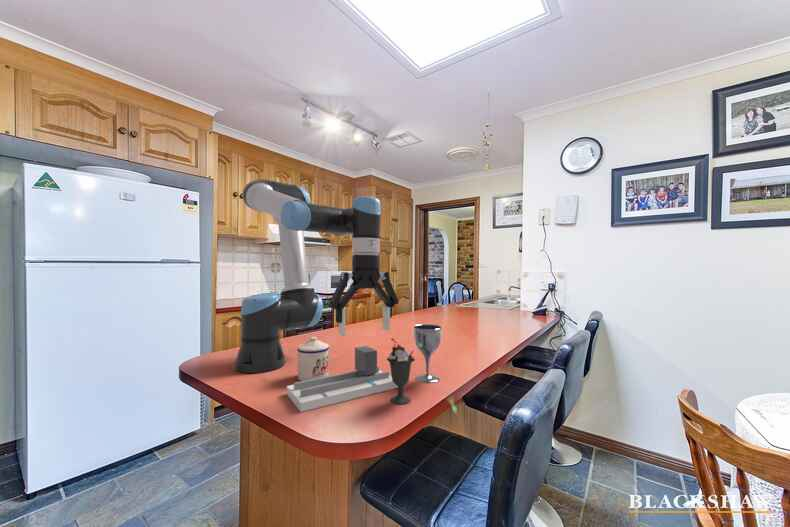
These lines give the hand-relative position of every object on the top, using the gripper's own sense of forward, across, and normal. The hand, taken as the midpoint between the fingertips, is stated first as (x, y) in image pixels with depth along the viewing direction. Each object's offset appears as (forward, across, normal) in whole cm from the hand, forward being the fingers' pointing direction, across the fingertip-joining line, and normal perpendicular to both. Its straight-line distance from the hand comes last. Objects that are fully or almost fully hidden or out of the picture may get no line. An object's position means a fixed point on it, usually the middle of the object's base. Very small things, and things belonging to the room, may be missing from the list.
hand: (365, 332), depth 87 cm
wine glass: (+14, +18, -6) cm, 23 cm away
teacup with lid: (+15, -8, +14) cm, 22 cm away
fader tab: (+12, 0, -1) cm, 12 cm away
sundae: (+14, +3, -14) cm, 20 cm away
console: (+14, -6, -1) cm, 16 cm away
